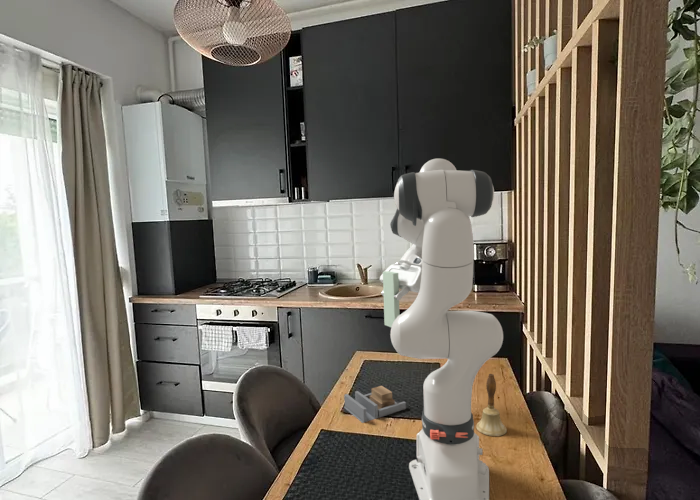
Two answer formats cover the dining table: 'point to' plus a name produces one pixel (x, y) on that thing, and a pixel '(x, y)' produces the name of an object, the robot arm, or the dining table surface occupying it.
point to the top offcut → (381, 394)
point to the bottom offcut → (382, 405)
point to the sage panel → (390, 297)
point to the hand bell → (491, 413)
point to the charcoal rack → (369, 407)
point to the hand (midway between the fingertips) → (389, 297)
